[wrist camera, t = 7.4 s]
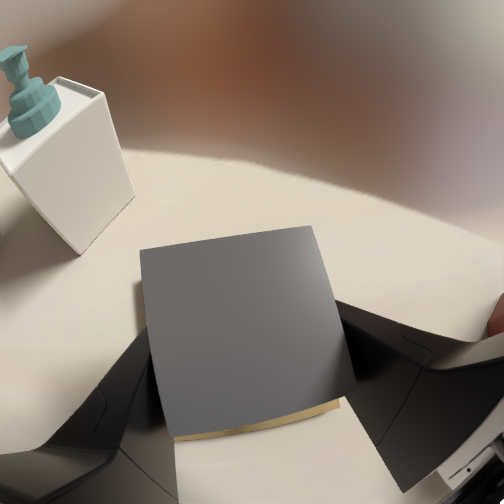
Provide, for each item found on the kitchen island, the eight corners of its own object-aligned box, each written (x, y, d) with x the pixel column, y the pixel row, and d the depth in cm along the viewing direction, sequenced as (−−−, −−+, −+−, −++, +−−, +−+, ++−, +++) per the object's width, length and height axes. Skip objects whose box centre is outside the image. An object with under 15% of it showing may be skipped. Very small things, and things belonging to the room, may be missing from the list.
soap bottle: (92, 162, 27) (44, 21, 9) (137, 194, 26) (90, 16, 8) (41, 213, 23) (-43, 86, 6) (80, 257, 22) (-37, 104, 5)
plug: (279, 378, 14) (358, 389, 6) (195, 395, 13) (170, 437, 5) (260, 299, 16) (311, 225, 8) (179, 313, 15) (139, 250, 7)
